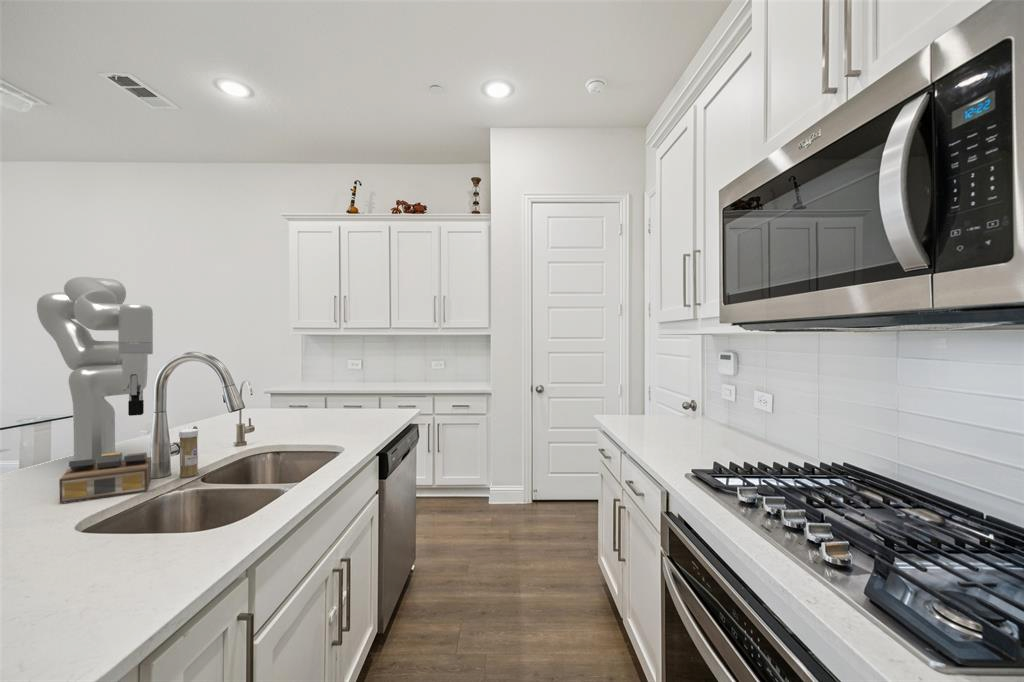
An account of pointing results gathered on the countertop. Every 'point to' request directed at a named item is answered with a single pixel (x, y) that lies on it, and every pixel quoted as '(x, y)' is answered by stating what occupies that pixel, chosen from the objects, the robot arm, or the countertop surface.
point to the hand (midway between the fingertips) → (136, 414)
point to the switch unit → (105, 481)
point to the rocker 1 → (82, 464)
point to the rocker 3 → (135, 457)
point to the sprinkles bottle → (188, 452)
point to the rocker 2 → (109, 460)
